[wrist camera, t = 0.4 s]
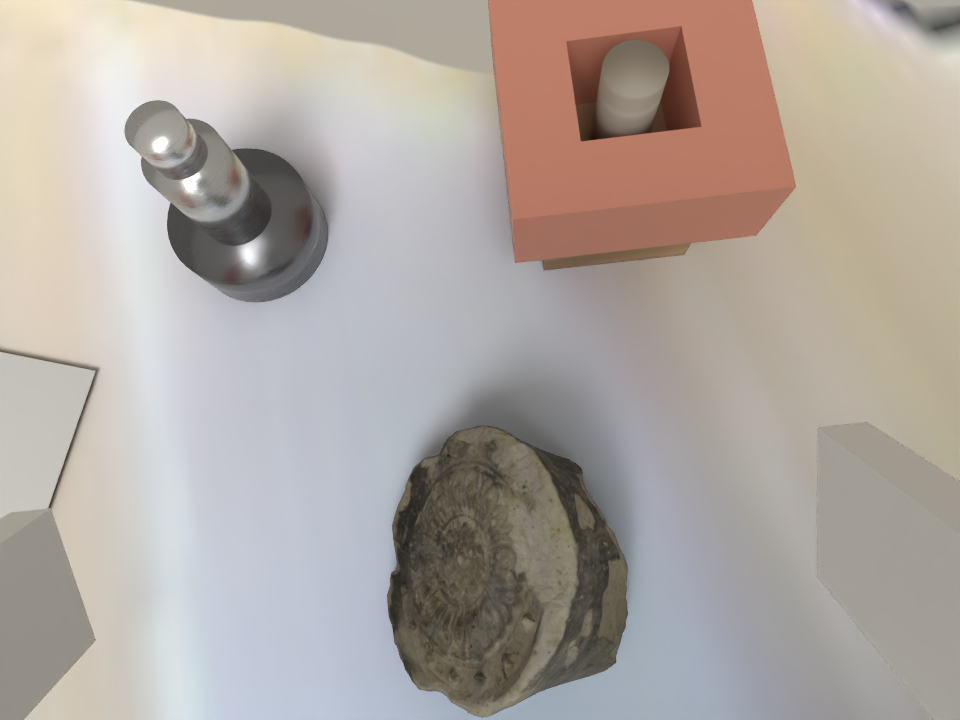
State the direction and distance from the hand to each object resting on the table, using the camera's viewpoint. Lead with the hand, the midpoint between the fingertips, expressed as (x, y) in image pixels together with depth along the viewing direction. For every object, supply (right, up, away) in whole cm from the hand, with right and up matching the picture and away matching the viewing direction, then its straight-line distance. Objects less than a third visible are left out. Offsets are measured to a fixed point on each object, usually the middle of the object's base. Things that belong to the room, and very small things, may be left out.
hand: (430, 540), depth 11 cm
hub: (-11, +9, +22) cm, 26 cm away
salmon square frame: (+7, +13, +17) cm, 22 cm away
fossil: (+2, -6, +18) cm, 19 cm away
